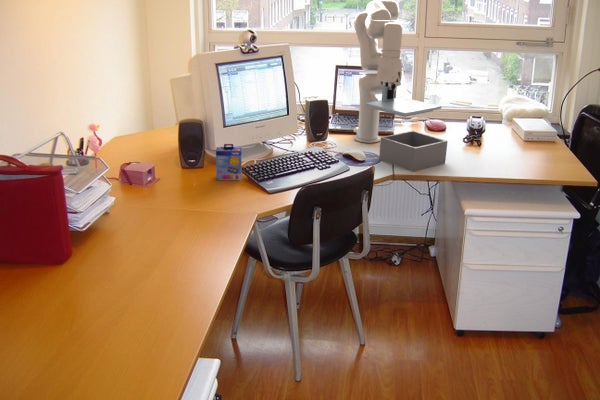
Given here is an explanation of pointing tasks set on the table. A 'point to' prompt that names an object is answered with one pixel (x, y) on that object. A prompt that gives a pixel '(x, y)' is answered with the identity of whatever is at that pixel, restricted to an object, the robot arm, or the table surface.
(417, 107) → the lid
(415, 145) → the tub
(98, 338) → the table surface
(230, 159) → the ink cartridge box
